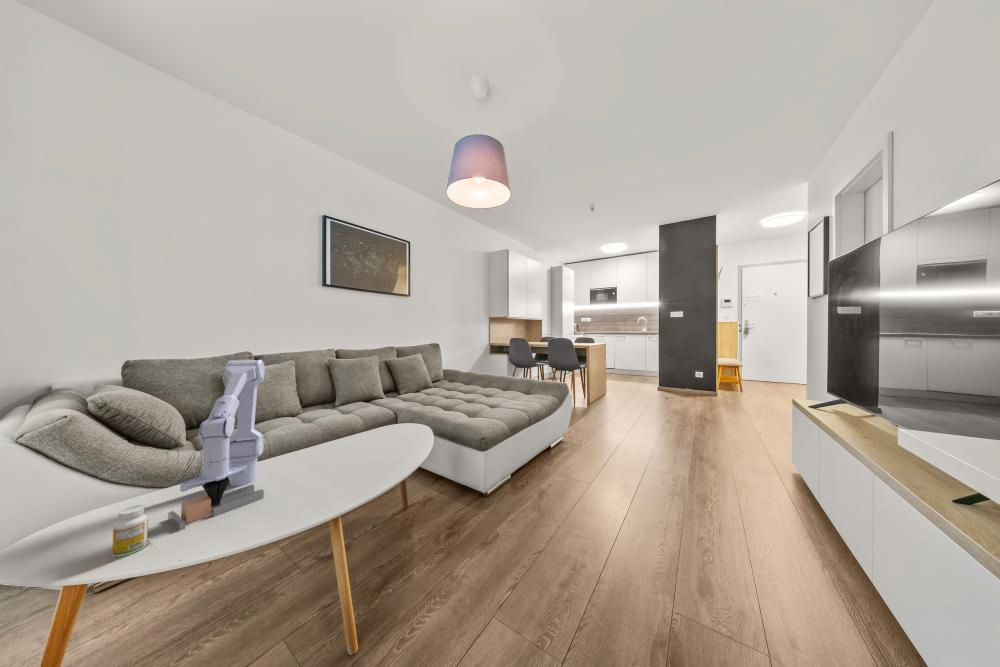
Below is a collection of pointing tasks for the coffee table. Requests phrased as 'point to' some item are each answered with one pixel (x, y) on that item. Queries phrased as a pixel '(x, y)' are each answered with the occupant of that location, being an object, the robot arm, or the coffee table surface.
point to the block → (195, 508)
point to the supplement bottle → (130, 531)
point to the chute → (224, 504)
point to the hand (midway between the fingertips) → (215, 506)
